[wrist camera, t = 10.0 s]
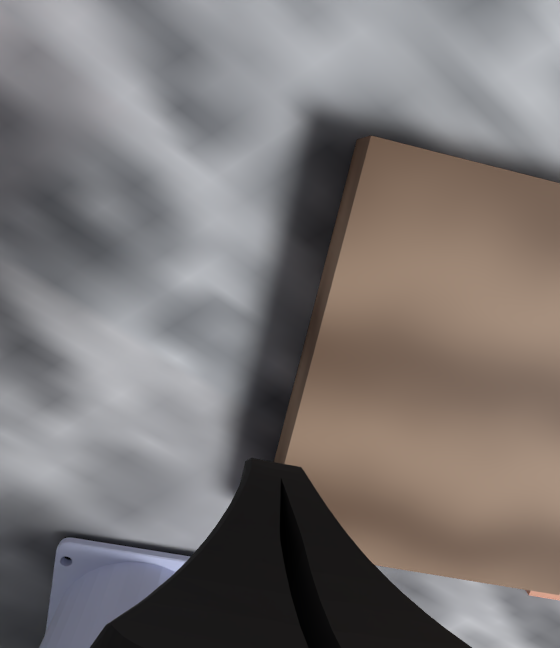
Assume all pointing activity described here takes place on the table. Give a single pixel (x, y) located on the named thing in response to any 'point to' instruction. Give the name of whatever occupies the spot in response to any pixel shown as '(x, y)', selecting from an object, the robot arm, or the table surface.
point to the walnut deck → (437, 369)
